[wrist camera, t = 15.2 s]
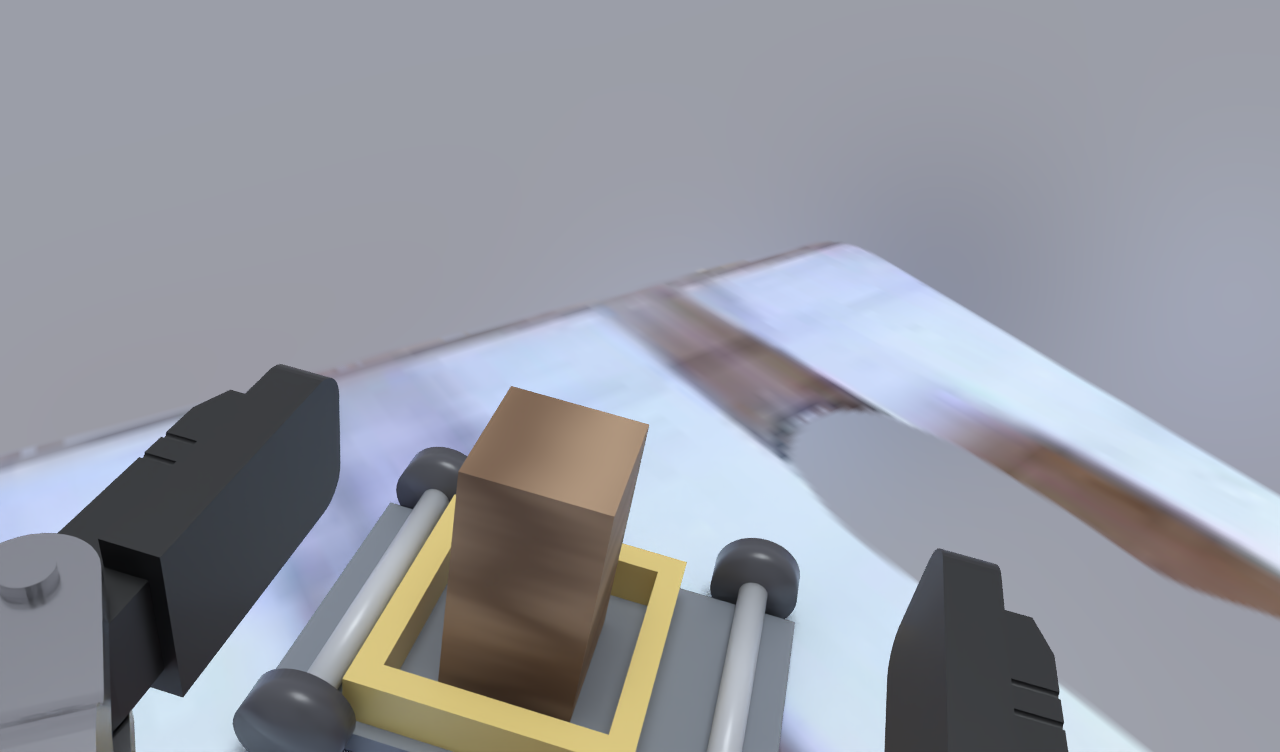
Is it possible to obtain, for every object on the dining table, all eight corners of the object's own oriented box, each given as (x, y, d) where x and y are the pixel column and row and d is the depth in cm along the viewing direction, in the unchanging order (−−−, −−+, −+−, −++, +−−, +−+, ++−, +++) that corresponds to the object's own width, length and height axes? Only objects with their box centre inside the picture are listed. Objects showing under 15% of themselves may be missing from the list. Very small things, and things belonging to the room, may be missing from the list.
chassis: (792, 613, 44) (814, 553, 42) (750, 924, 32) (779, 863, 30) (403, 498, 45) (407, 436, 43) (230, 756, 34) (224, 687, 32)
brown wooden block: (604, 622, 40) (649, 424, 34) (569, 722, 36) (614, 516, 30) (485, 586, 40) (511, 386, 35) (438, 681, 36) (458, 471, 31)
